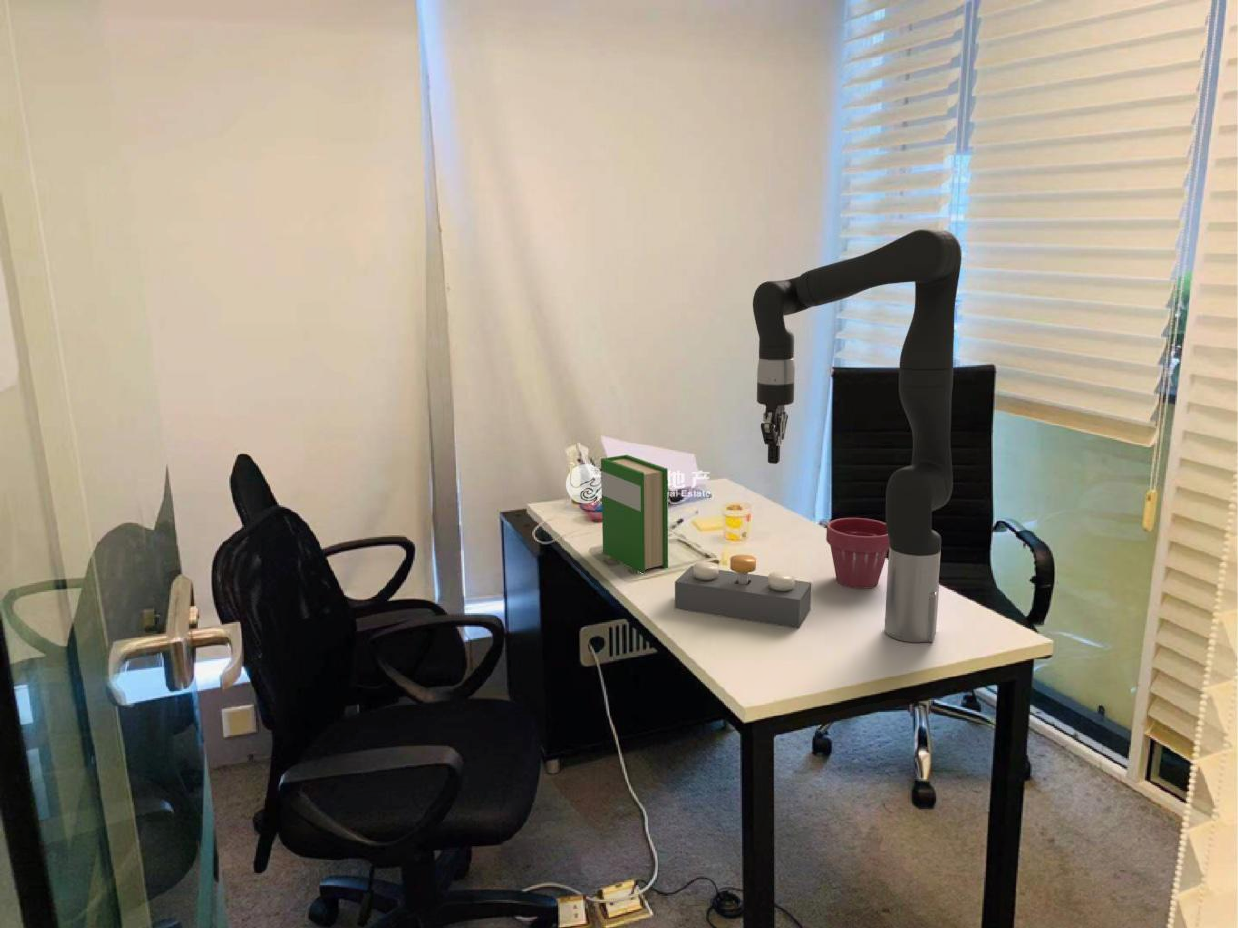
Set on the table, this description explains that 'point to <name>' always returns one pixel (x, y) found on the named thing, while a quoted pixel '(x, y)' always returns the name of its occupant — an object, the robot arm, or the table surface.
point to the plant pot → (858, 550)
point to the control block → (743, 598)
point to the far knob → (705, 570)
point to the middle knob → (743, 567)
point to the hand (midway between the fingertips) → (773, 462)
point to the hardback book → (635, 512)
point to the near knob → (781, 581)
